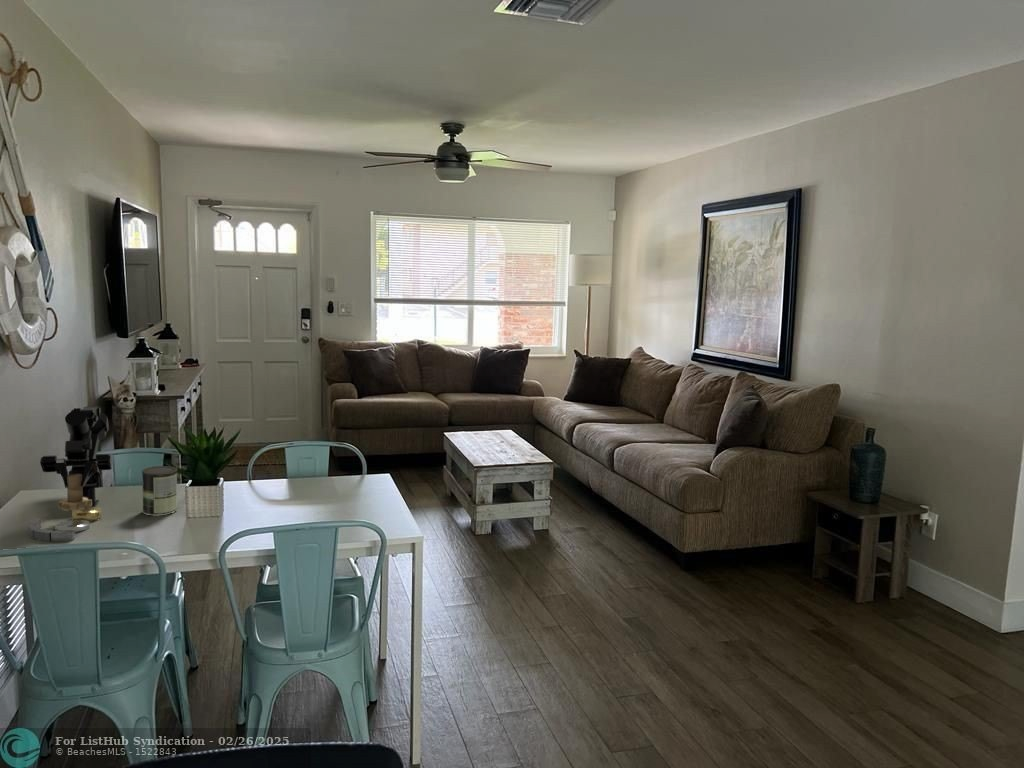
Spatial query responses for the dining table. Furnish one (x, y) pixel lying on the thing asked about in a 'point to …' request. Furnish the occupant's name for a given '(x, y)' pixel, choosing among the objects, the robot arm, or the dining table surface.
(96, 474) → the robot arm
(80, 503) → the gear
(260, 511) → the dining table surface
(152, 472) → the coffee can
